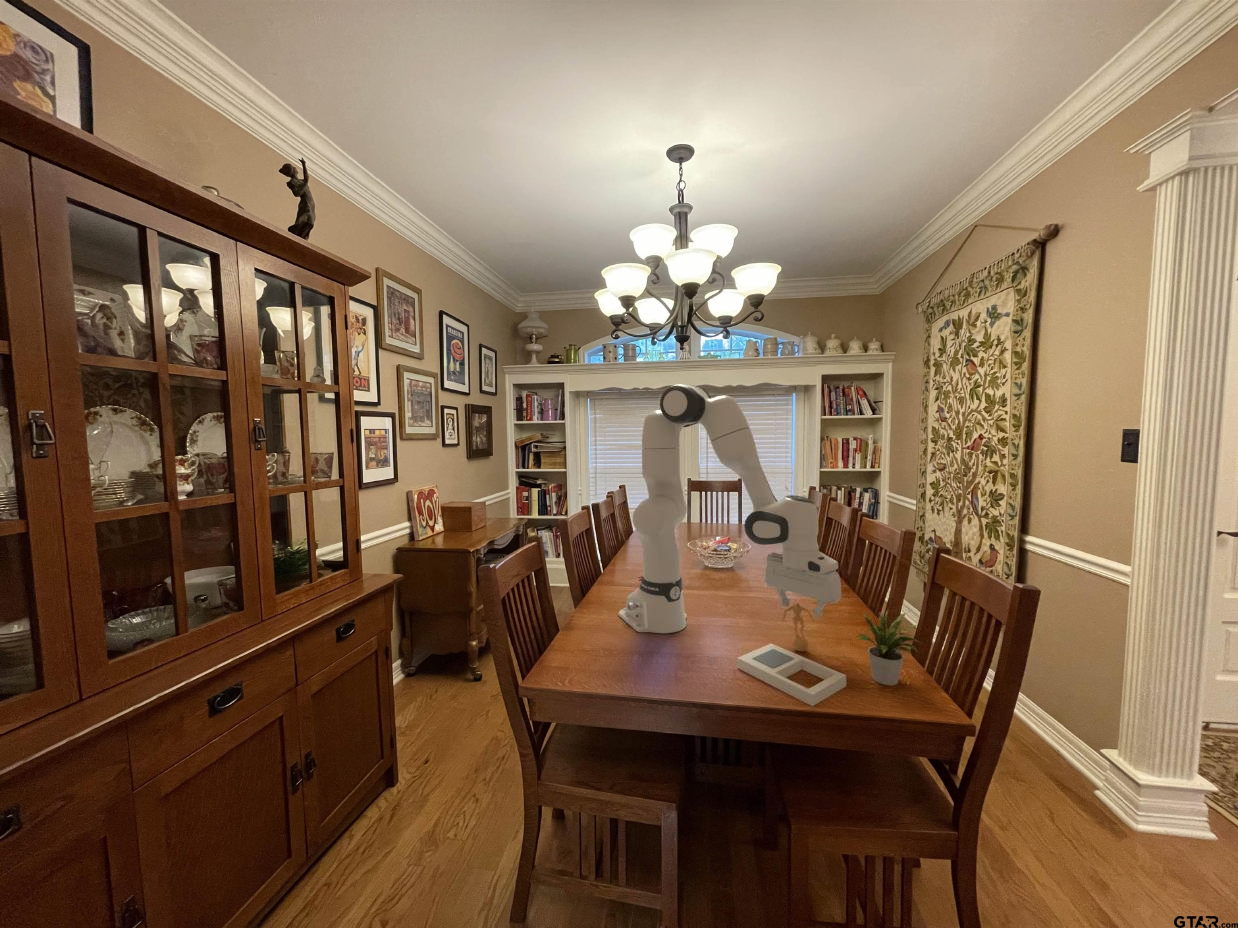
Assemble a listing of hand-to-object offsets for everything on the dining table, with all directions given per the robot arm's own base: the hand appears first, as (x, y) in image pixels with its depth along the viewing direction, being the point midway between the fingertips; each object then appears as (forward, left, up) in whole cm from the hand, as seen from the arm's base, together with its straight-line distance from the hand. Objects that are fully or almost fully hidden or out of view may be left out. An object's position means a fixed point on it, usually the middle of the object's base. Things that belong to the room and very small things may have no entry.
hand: (801, 610), depth 122 cm
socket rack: (+7, -14, -10) cm, 19 cm away
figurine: (0, 0, -11) cm, 11 cm away
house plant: (+20, +1, -11) cm, 22 cm away
